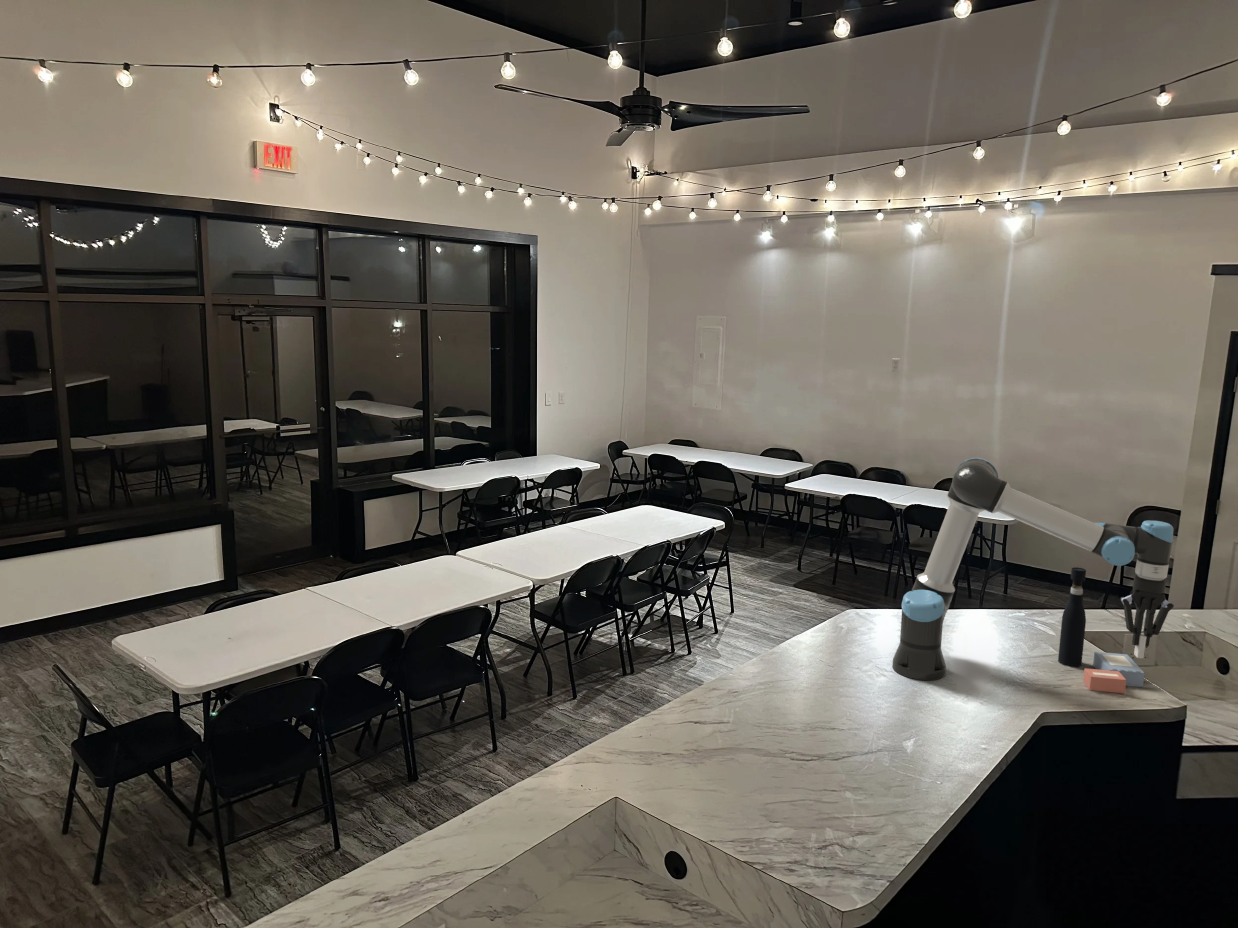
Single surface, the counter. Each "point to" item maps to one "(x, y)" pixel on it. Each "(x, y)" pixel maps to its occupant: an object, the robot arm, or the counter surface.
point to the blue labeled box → (1120, 667)
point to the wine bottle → (1073, 623)
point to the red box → (1104, 680)
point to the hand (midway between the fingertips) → (1138, 656)
